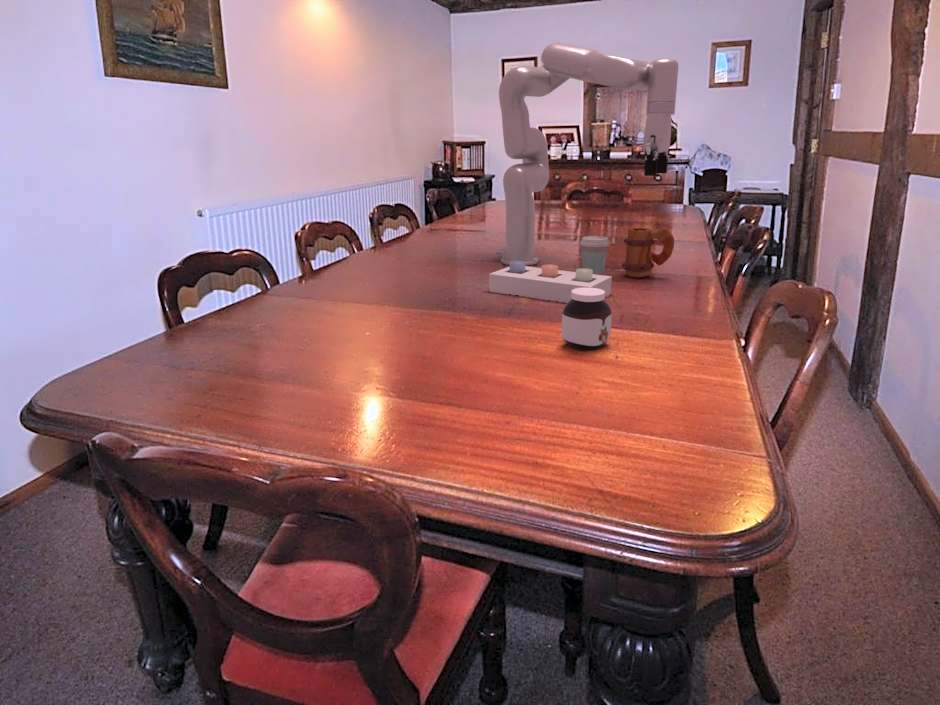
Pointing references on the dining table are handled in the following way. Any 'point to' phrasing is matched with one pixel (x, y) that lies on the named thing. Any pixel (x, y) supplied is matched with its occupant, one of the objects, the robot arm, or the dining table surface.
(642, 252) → the mug
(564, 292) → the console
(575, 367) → the dining table surface
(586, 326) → the spread jar
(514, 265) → the slate button
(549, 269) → the orange rounded piece
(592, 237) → the coffee cup
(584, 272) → the sage button
